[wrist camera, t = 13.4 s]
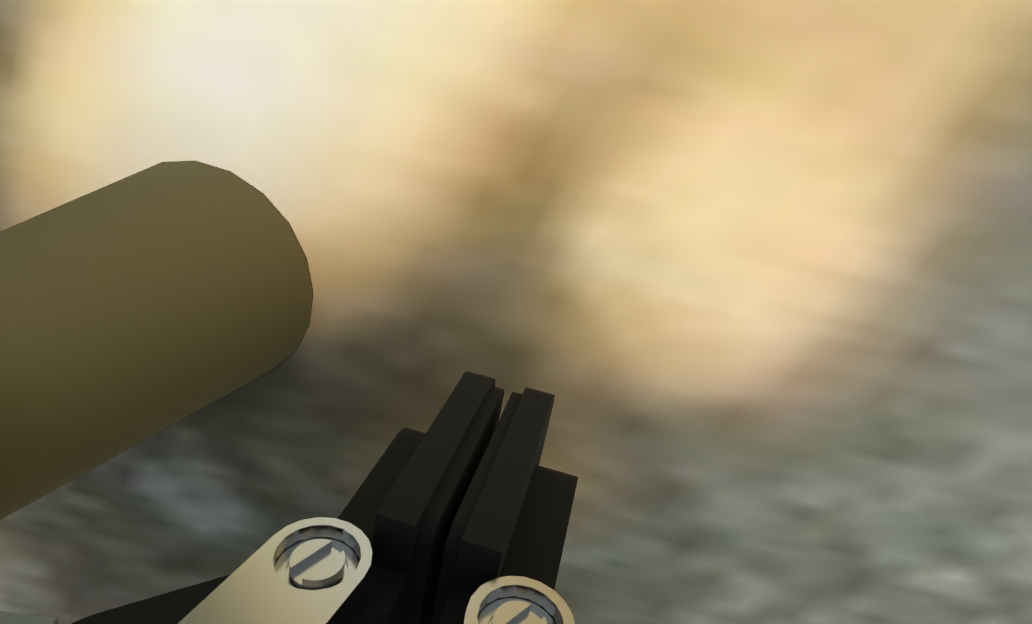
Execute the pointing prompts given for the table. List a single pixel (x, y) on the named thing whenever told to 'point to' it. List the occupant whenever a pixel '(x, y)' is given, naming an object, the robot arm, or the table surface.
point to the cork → (137, 316)
